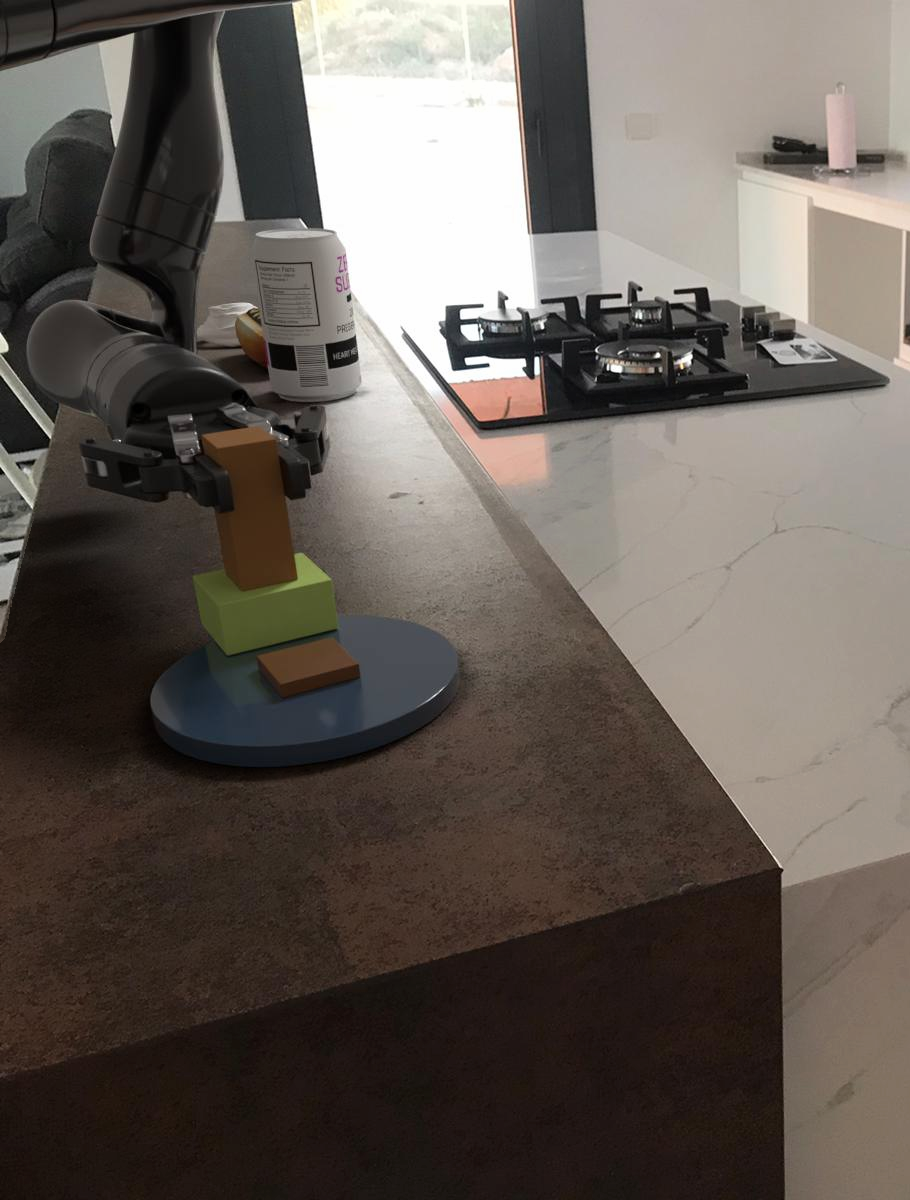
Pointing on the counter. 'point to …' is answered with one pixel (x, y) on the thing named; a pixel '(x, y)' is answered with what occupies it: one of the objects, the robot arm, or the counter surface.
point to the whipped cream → (223, 324)
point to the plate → (307, 698)
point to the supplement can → (306, 314)
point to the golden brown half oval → (251, 336)
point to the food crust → (308, 667)
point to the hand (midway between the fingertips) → (261, 487)
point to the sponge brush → (259, 555)
